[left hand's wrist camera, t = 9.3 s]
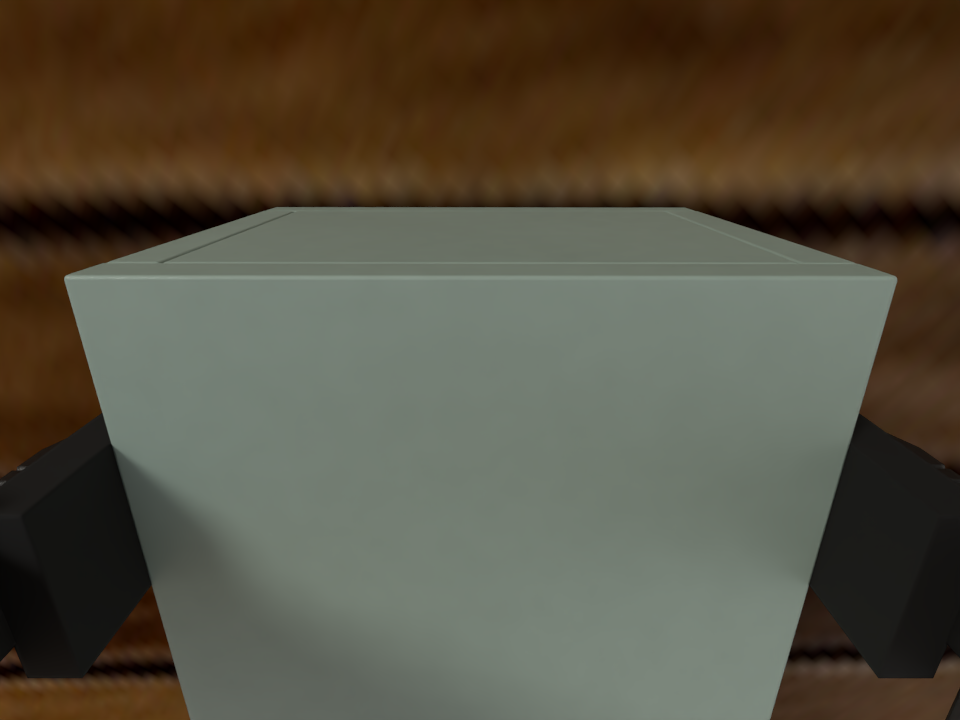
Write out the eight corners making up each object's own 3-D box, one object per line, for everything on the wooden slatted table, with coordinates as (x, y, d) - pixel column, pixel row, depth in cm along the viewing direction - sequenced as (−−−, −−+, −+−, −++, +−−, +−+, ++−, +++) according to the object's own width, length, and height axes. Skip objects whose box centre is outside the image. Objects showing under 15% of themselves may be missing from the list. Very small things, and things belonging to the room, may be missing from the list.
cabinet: (621, 681, 21) (698, 972, 14) (338, 681, 21) (261, 972, 14) (686, 206, 15) (901, 276, 7) (273, 206, 15) (60, 274, 7)
